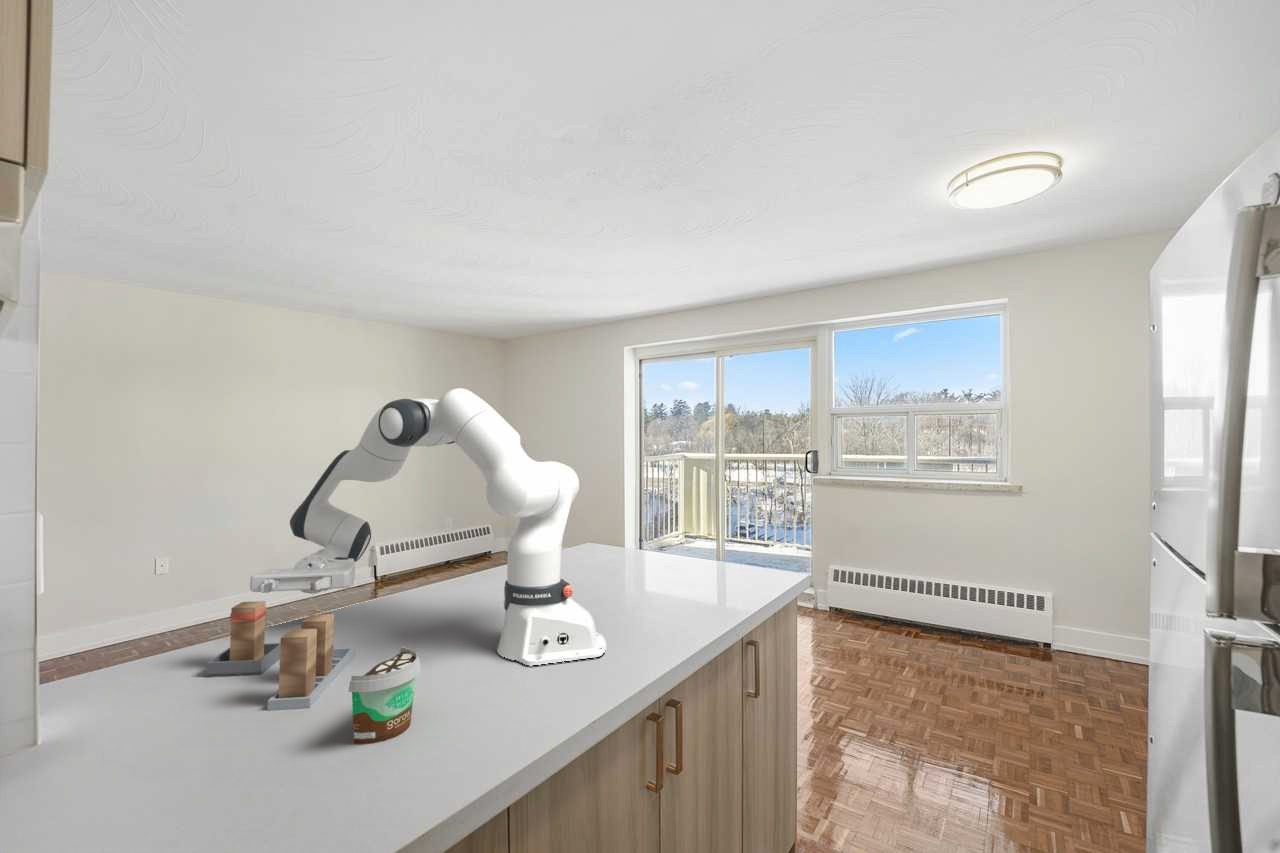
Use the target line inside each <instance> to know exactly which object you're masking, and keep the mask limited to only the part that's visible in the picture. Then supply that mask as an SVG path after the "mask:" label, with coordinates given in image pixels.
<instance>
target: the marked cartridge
mask: <svg viewBox="0 0 1280 853" xmlns="http://www.w3.org/2000/svg"><path fill="white" fill-rule="evenodd" d="M266 615H267V604H266V601H264V600H263V601H262V600H259V601H257V600H256V601H242V602H240V603H238V604H236V605H234V606H233V607H231V613H230V615H229V616H230V617H229V620H230V621H229V622H230V637H229V638H230V640H229V646H230V647H229V648H230V661H244V660H260V659H262V658H263V657H264V644H265V630H266V628H265V627H266Z"/></svg>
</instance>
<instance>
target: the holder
mask: <svg viewBox="0 0 1280 853" xmlns="http://www.w3.org/2000/svg"><path fill="white" fill-rule="evenodd" d="M355 653H356V647H337V648H335V647H333V664H332V670H331V671H330V672H329V674H328V675H327V676H319V677H315V689H314V690H313V691H312V692H311V694H310V695H309V696H308V697H295V698H279V689H278V690H277V691H276V692H275V693H274V694H273V695H272V696H271V697H270V698H269V699H268V700H267V707H266V708H267V711H274V710H276V711H278V710H293V709H309V708H311V707H312V706H313V705H314V704H315V702H316V701H317V700H318V699H319V698H320V697H321V695H323V693H324V692H325V690H326V689H327V688H329V686H330V685H331V684H332V682H334V680H335V679H336V678H337V676H338V675H339V674H340V673H341V672H342V671H343V669H344V668H345V667H346V666H347V665H348V664H349V663H350V661H351V660H352V659H353V658H354V656H355V655H356V654H355ZM341 657H342V658H341Z"/></svg>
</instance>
